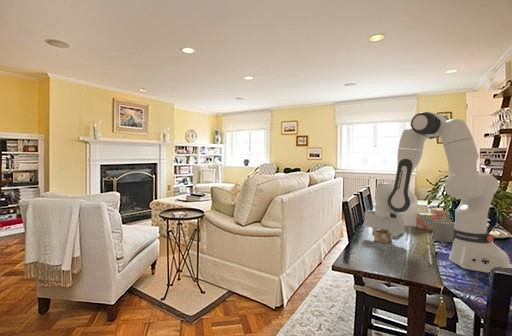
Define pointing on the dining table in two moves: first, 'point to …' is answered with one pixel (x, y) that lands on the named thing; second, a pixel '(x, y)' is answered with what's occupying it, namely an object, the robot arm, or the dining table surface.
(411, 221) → the milk
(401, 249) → the dining table surface
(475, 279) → the dining table surface
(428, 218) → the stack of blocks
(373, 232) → the sage crate
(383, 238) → the pine crate
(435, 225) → the coffee mug
